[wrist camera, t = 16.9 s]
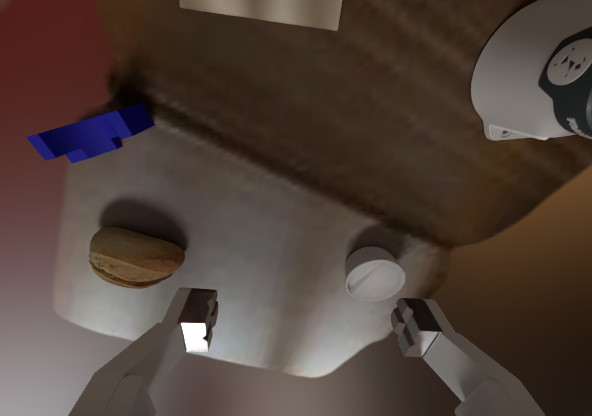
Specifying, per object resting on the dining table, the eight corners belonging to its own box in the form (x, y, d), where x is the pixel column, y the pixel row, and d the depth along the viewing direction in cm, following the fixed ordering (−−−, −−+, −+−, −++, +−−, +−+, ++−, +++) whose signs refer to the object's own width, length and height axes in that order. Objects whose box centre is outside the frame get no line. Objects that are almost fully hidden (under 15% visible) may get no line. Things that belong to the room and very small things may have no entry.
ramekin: (343, 241, 47) (349, 260, 42) (400, 240, 47) (412, 259, 43) (337, 282, 52) (342, 303, 48) (389, 281, 53) (398, 301, 48)
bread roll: (185, 270, 49) (169, 304, 42) (102, 253, 46) (71, 287, 39) (191, 233, 44) (174, 265, 38) (100, 212, 41) (63, 242, 35)
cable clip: (87, 156, 36) (54, 171, 31) (65, 125, 34) (26, 137, 29) (160, 135, 35) (139, 147, 30) (143, 102, 33) (117, 110, 28)
